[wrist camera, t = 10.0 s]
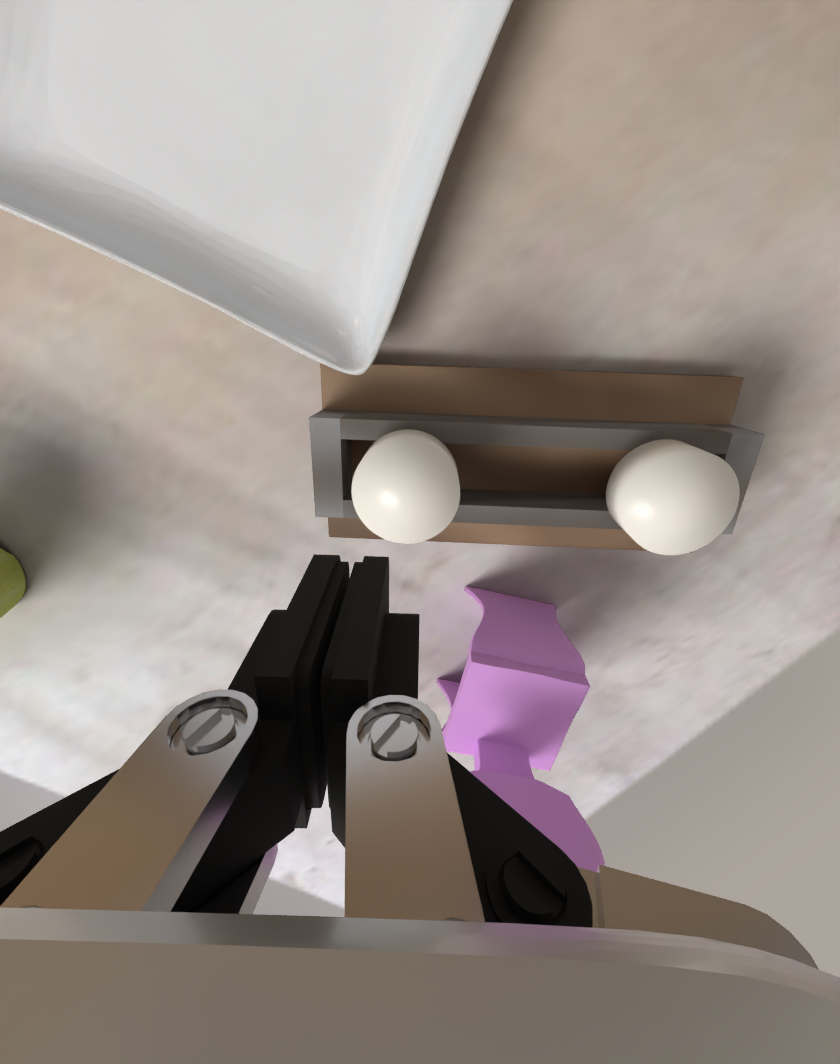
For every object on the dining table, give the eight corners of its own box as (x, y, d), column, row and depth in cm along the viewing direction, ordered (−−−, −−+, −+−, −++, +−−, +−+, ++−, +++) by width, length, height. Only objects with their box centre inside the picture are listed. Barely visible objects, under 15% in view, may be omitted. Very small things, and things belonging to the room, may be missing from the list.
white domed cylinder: (596, 426, 24) (637, 448, 19) (689, 430, 23) (754, 453, 19) (581, 512, 25) (614, 552, 21) (667, 516, 25) (721, 557, 21)
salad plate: (580, -141, 18) (611, -246, 14) (373, 380, 25) (365, 385, 22) (22, -525, 15) (-91, -760, 12) (-18, 193, 23) (-92, 169, 19)
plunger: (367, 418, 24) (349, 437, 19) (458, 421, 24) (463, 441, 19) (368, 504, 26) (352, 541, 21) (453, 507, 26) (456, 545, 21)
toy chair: (573, 602, 30) (689, 822, 16) (532, 701, 34) (598, 953, 20) (452, 575, 30) (465, 780, 16) (422, 679, 33) (412, 921, 19)
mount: (324, 362, 25) (306, 365, 21) (732, 376, 24) (781, 382, 21) (332, 530, 29) (317, 556, 25) (683, 545, 28) (718, 574, 25)
